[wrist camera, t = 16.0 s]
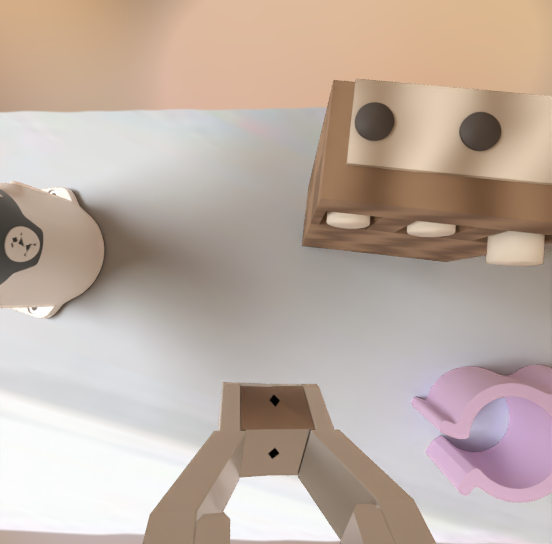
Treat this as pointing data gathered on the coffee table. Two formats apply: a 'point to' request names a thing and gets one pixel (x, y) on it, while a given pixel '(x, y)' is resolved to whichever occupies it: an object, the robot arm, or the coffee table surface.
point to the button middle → (430, 229)
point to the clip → (513, 446)
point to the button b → (515, 249)
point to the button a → (347, 220)
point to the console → (430, 168)
